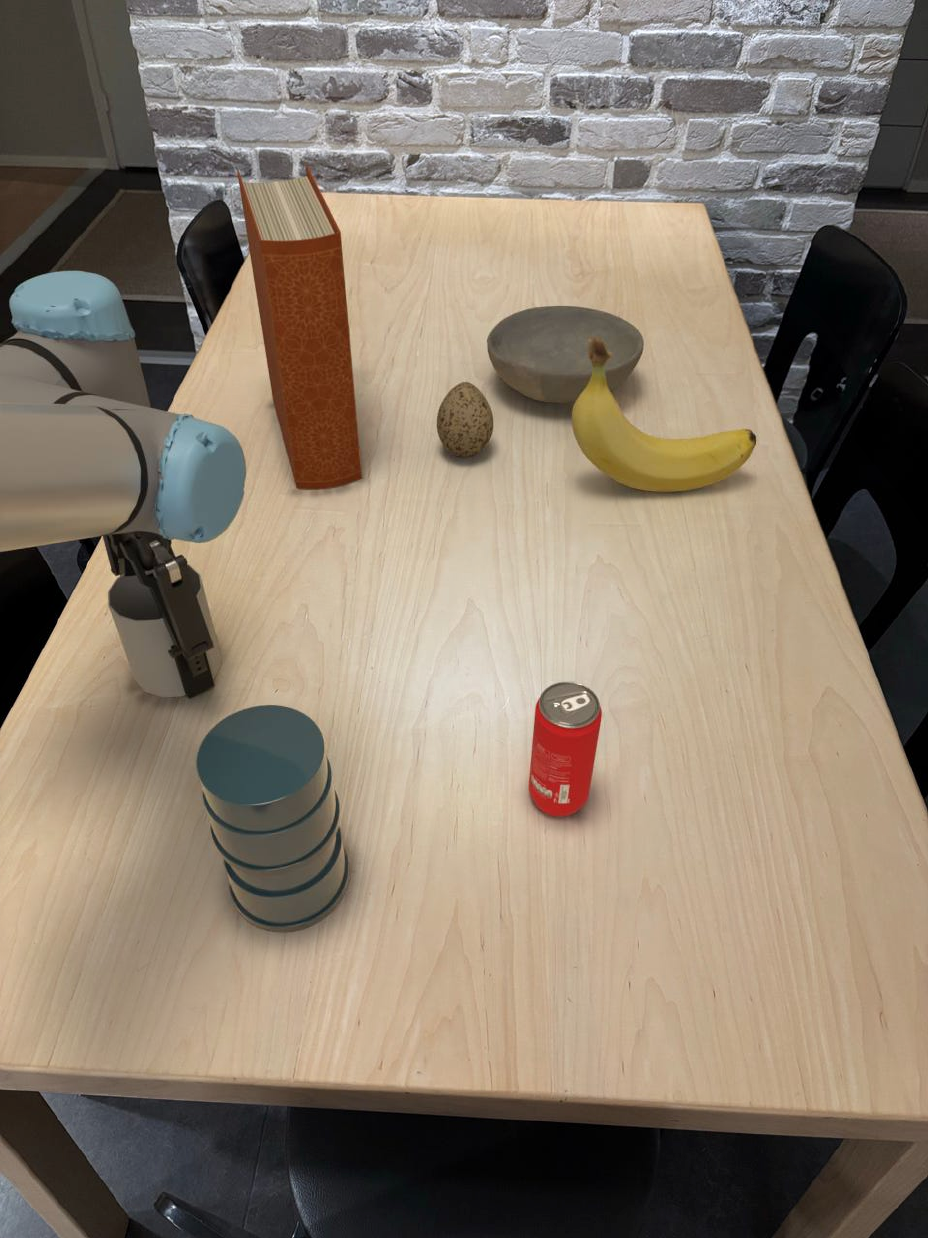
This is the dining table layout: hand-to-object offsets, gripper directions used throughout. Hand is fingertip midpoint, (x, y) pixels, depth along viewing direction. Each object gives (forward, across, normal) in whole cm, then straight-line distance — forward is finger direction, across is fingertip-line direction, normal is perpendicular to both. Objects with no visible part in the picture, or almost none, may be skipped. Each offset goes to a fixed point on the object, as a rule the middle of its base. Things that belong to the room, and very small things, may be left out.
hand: (177, 663), depth 90 cm
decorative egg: (+1, +11, -46) cm, 47 cm away
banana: (+1, -10, -59) cm, 60 cm away
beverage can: (+1, -35, -18) cm, 39 cm away
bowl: (+1, +15, -67) cm, 69 cm away
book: (+1, +26, -33) cm, 42 cm away
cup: (+1, 0, 0) cm, 1 cm away
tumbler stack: (0, -27, +4) cm, 27 cm away
